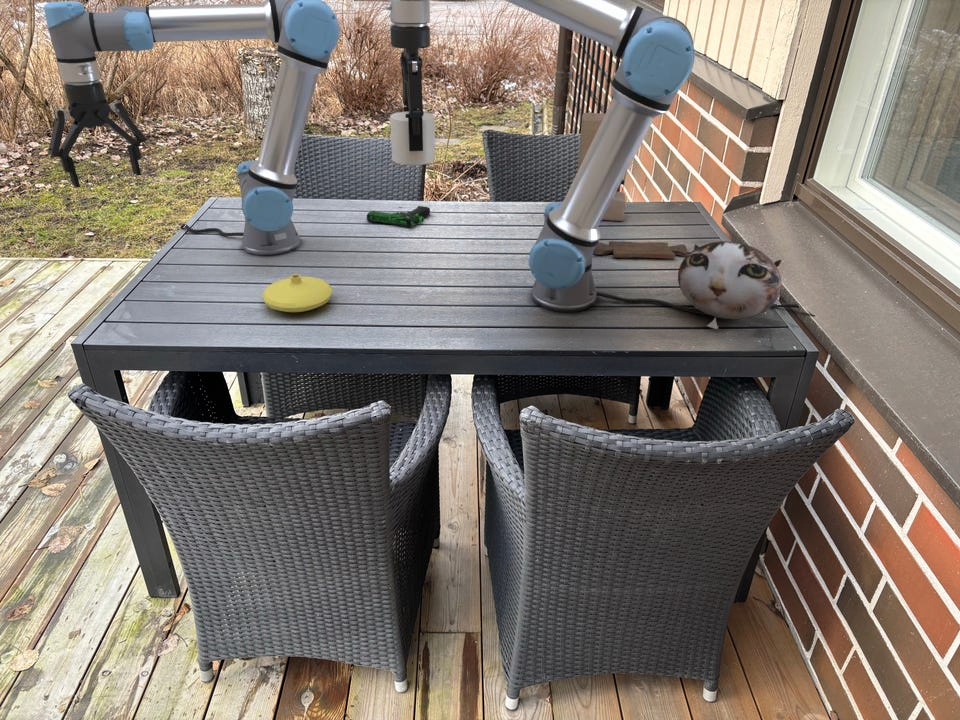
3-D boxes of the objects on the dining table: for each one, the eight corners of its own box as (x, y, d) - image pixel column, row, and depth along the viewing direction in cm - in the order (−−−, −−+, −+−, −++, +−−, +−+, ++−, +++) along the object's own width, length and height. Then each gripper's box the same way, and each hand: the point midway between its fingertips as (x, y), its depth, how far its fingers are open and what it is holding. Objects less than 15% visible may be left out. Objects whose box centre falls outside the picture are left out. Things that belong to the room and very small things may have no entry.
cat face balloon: (655, 305, 156) (684, 221, 158) (671, 327, 172) (697, 250, 173) (760, 330, 146) (790, 239, 147) (766, 351, 161) (793, 268, 163)
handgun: (435, 206, 218) (413, 220, 206) (436, 216, 220) (413, 230, 208) (389, 200, 224) (364, 213, 212) (389, 209, 225) (365, 223, 213)
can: (442, 156, 151) (442, 114, 146) (422, 167, 144) (420, 122, 139) (405, 151, 154) (404, 109, 149) (383, 161, 147) (381, 117, 142)
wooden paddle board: (691, 261, 192) (683, 247, 200) (692, 255, 191) (684, 241, 199) (595, 258, 192) (591, 244, 200) (595, 252, 191) (591, 238, 200)
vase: (301, 284, 175) (298, 257, 172) (347, 301, 167) (345, 273, 164) (249, 307, 164) (244, 278, 160) (296, 326, 156) (292, 297, 153)
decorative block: (623, 221, 217) (635, 120, 201) (573, 219, 218) (582, 117, 203) (622, 213, 223) (634, 114, 208) (574, 210, 225) (582, 112, 209)
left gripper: (24, 91, 143) (54, 195, 154) (147, 78, 159) (167, 172, 169) (12, 86, 148) (43, 187, 159) (133, 73, 163) (154, 166, 174)
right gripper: (386, 18, 144) (391, 132, 156) (394, 31, 126) (400, 159, 137) (423, 18, 145) (425, 131, 157) (437, 31, 127) (438, 158, 139)
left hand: (107, 180), depth 164 cm, fingers open, 13 cm apart
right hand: (413, 144), depth 147 cm, fingers closed on can, 9 cm apart
